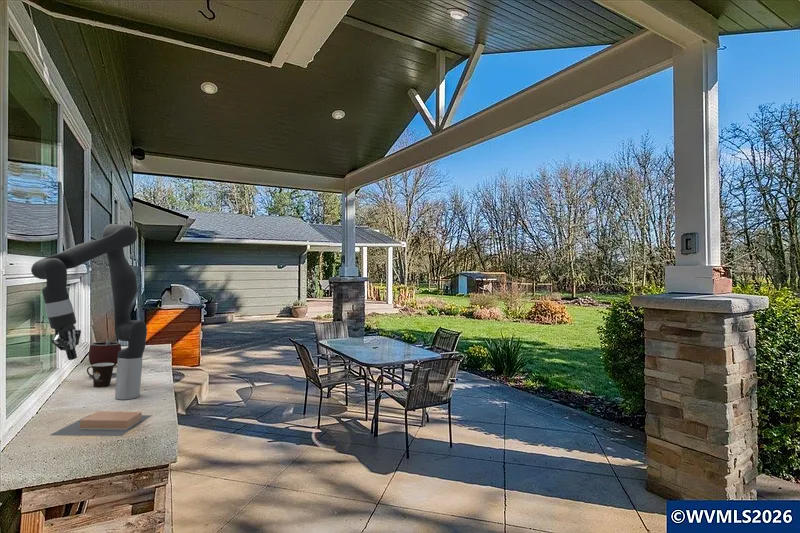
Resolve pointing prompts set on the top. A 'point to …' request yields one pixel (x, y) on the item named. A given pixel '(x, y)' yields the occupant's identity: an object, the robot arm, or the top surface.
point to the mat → (76, 431)
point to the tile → (111, 420)
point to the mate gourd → (104, 353)
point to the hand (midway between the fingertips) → (72, 358)
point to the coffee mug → (101, 374)
